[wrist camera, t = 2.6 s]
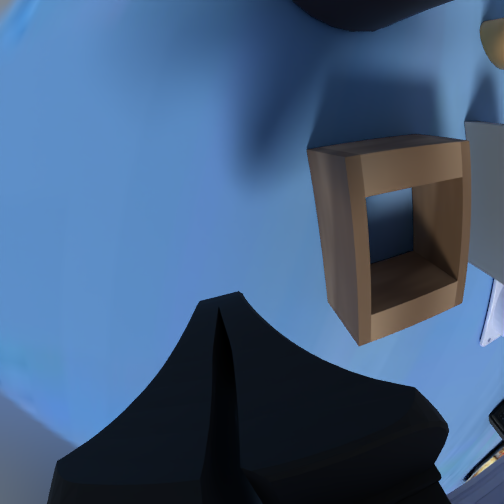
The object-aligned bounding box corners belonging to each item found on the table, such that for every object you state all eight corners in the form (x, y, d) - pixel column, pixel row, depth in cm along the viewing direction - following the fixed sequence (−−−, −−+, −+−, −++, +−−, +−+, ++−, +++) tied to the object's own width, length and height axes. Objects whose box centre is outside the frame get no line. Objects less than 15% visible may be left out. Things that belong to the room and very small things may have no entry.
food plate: (530, 429, 46) (536, 437, 43) (466, 486, 50) (471, 494, 46) (533, 404, 37) (541, 413, 34) (451, 478, 41) (457, 489, 38)
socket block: (415, 134, 14) (469, 140, 10) (420, 270, 17) (462, 302, 13) (306, 149, 13) (344, 157, 10) (327, 301, 16) (358, 346, 13)
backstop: (479, 121, 14) (534, 128, 10) (478, 254, 17) (523, 282, 13) (464, 121, 14) (522, 128, 10) (465, 260, 17) (510, 289, 13)
